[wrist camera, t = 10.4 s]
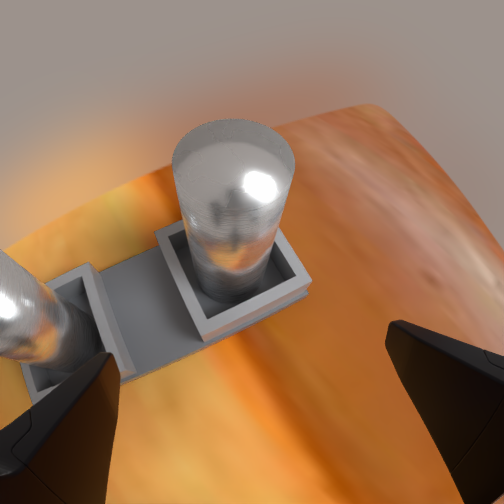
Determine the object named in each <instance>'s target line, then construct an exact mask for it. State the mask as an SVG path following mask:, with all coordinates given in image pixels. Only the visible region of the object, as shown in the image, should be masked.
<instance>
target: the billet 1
mask: <svg viewBox="0 0 504 504" xmlns="http://www.w3.org/2000/svg"><path fill="white" fill-rule="evenodd" d="M100 348H101V336H100V333H99V330H98V327H97V324H96V322H95V320H94V319H93V318H92V317H91V316H90V315H89V314H87V313H86V312H84V311H83V310H81V309H80V308H78V307H77V306H75V305H74V304H72V303H71V302H69V301H68V300H66V299H65V298H63V297H62V296H61V295H59V294H58V293H56V292H55V291H53V290H52V289H51V288H49V287H48V286H47V285H45V284H44V283H42V282H41V281H40V280H38V279H37V278H36V277H34V276H33V275H32V274H30V273H29V272H28V271H27V270H25V269H24V268H23V267H22V266H20V265H19V264H18V263H17V262H15V261H14V260H13V259H12V258H10V257H9V256H8V255H7V254H6V253H4V252H3V251H2V250H1V249H0V357H4V358H7V359H11V360H14V361H18V362H22V363H26V364H30V365H34V366H38V367H43V368H47V369H52V370H56V371H61V372H66V373H72V374H73V373H74V372H76V371H77V370H78V369H79V368H81V367H82V366H83V365H85V364H86V363H87V362H88V361H90V360H91V359H92V358H93V357H95V356H96V355H97V354H99V353H100Z"/></svg>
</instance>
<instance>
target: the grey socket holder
mask: <svg viewBox="0 0 504 504" xmlns="http://www.w3.org/2000/svg"><path fill="white" fill-rule="evenodd" d="M154 233H155V236H156V238H157V241H158V243H159V245H158V246H156V247H154V248H152V249H149V250H147V251H145V252H143V253H140V254H138V255H136V256H134V257H132V258H129V259H127V260H125V261H123V262H121V263H118V264H116V265H114V266H112V267H110V268H108V269H106V270H103V271H101V272H98V271H97V270H96V269H95V268H94V267H93V266H92V265H91V264H90V263H89V262H87V263H85V264H83V265H81V266H79V267H77V268H75V269H73V270H71V271H69V272H67V273H65V274H63V275H61V276H59V277H57V278H55V279H53V280H51V281H49V282H47V283H45V285H47V286H48V287H49V288H51V289H52V290H53V291H55V292H56V293H58V294H59V295H61V296H62V297H63V298H65V299H66V300H68V301H69V302H71V303H72V304H74V305H75V306H77V307H78V308H80V309H81V310H83V311H84V312H86V313H87V314H89V315H90V316H91V317H92V318H93V319H94V320H95V322H96V324H97V327H98V330H99V333H100V336H101V348H100V352H111V353H112V354H113V355H114V357H115V360H116V363H117V366H118V368H119V371H120V376H121V381H120V386H121V385H123V384H126V383H128V382H131V381H133V380H135V379H138V378H140V377H142V376H145V375H147V374H149V373H152V372H154V371H156V370H159V369H161V368H163V367H166V366H168V365H170V364H172V363H175V362H177V361H179V360H181V359H183V358H186V357H188V356H190V355H192V354H194V353H196V352H199V351H201V350H203V349H205V348H207V347H209V346H211V345H213V344H216V343H218V342H220V341H222V340H224V339H226V338H228V337H230V336H232V335H234V334H236V333H238V332H240V331H242V330H244V329H246V328H248V327H250V326H252V325H254V324H256V323H258V322H260V321H262V320H264V319H266V318H268V317H270V316H272V315H274V314H276V313H277V312H279V311H281V310H283V309H285V308H287V307H289V306H291V305H293V304H294V303H296V302H298V301H300V300H302V299H304V298H306V296H307V295H308V294H309V293H308V291H307V290H306V289H307V287H308V286H309V285H310V283H311V282H312V279H311V278H310V276H309V274H308V273H307V271H306V270H305V268H304V266H303V265H302V263H301V262H300V260H299V259H298V257H297V255H296V254H295V252H294V251H293V249H292V247H291V246H290V244H289V243H288V241H287V240H286V238H285V237H284V235H283V233H282V232H281V230H280V229H279V227H278V229H277V233H276V236H275V240H274V243H273V246H272V250H271V253H270V256H269V260H268V263H267V266H266V270H265V273H264V276H263V280H262V283H261V285H260V287H259V289H258V290H257V291H256V292H255V293H254V294H253V295H252V296H251V297H250V298H248V299H246V300H244V301H242V302H238V303H221V302H218V301H215V300H213V299H212V298H210V297H209V296H207V295H206V294H205V293H204V292H203V290H202V289H201V288H200V286H199V284H198V281H197V277H196V273H195V269H194V265H193V261H192V257H191V253H190V248H189V244H188V240H187V235H186V231H185V227H184V222H183V220H180V221H178V222H176V223H173V224H171V225H169V226H166V227H164V228H162V229H159V230H157V231H155V232H154ZM20 365H21V369H22V372H23V376H24V379H25V382H26V386H27V389H28V392H29V395H30V398H31V401H32V404H33V405H34V404H36V403H37V402H38V401H39V400H41V399H42V398H43V397H44V396H46V395H47V394H48V393H49V392H51V391H52V390H53V389H54V388H56V387H57V386H58V385H59V384H61V383H62V382H63V381H64V380H66V379H67V378H68V377H69V376H71V375H72V373H66V372H61V371H56V370H52V369H47V368H43V367H38V366H34V365H30V364H26V363H22V362H20Z"/></svg>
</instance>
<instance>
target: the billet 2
mask: <svg viewBox="0 0 504 504" xmlns="http://www.w3.org/2000/svg"><path fill="white" fill-rule="evenodd" d="M172 169H173V174H174V179H175V184H176V189H177V194H178V199H179V204H180V208H181V213H182V218H183V222H184V227H185V231H186V235H187V240H188V244H189V248H190V253H191V257H192V261H193V265H194V269H195V273H196V277H197V281H198V284H199V286H200V288H201V289H202V290H203V292H204V293H205V294H206V295H207V296H209V297H210V298H212V299H213V300H215V301H218V302H221V303H238V302H242V301H244V300H246V299H248V298H250V297H251V296H252V295H253V294H254V293H255V292H256V291H257V290H258V289H259V287H260V285H261V283H262V280H263V276H264V273H265V270H266V266H267V263H268V260H269V256H270V253H271V250H272V246H273V243H274V240H275V236H276V233H277V229H278V226H279V223H280V219H281V216H282V212H283V209H284V205H285V202H286V199H287V195H288V192H289V188H290V185H291V181H292V178H293V174H294V170H295V159H294V155H293V152H292V150H291V148H290V146H289V144H288V143H287V142H286V140H285V139H284V138H283V137H282V136H281V135H279V134H278V133H277V132H275V131H274V130H272V129H271V128H269V127H267V126H265V125H262V124H260V123H257V122H253V121H249V120H244V119H222V120H216V121H212V122H208V123H205V124H203V125H200V126H198V127H197V128H195V129H193V130H191V131H190V132H189V133H187V134H186V135H185V136H184V137H183V138H182V139H181V141H180V142H179V143H178V145H177V146H176V148H175V150H174V153H173V157H172Z"/></svg>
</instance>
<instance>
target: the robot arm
mask: <svg viewBox="0 0 504 504" xmlns="http://www.w3.org/2000/svg"><path fill="white" fill-rule="evenodd" d="M385 346H386V349H387V351H388V354H389V356H390V358H391V360H392V363H393V365H394V367H395V369H396V372H397V374H398V376H399V378H400V380H401V382H402V384H403V386H404V388H405V390H406V391H407V393H408V395H409V397H410V398H411V400H412V402H413V404H414V405H415V407H416V409H417V411H418V413H419V414H420V416H421V418H422V420H423V422H424V424H425V425H426V427H427V429H428V431H429V433H430V435H431V437H432V439H433V441H434V442H435V444H436V446H437V448H438V450H439V452H440V454H441V456H442V458H443V460H444V462H445V464H446V466H447V468H448V470H449V472H450V473H451V476H452V478H453V480H454V483H455V485H456V487H457V489H458V491H459V493H460V495H461V497H462V500H463V502H464V504H493V503H495V502H496V501H497V500H498V499H500V498H501V497H502V496H503V495H504V356H501V355H498V354H495V353H492V352H490V351H487V350H483V349H481V348H478V347H475V346H473V345H470V344H467V343H464V342H461V341H459V340H456V339H453V338H450V337H448V336H445V335H442V334H439V333H437V332H434V331H431V330H428V329H426V328H423V327H420V326H417V325H415V324H412V323H409V322H406V321H404V320H396V321H392V322H390V324H389V326H388V331H387V336H386V340H385ZM120 381H121V376H120V371H119V368H118V366H117V363H116V360H115V357H114V355H113V354H112V353H111V352H100V353H99V354H97V355H96V356H95V357H93V358H92V359H91V360H90V361H88V362H87V363H86V364H85V365H83V366H82V367H81V368H79V369H78V370H77V371H76V372H74V373H73V374H72V375H71V376H69V377H68V378H67V379H66V380H64V381H63V382H62V383H61V384H59V385H58V386H57V387H56V388H54V389H53V390H52V391H51V392H49V393H48V394H47V395H46V396H44V397H43V398H42V399H41V400H39V401H38V402H37V403H36V404H34V405H33V406H32V407H31V408H30V409H28V410H27V411H26V412H24V413H23V414H22V415H21V416H19V417H18V418H17V419H15V420H14V421H13V422H12V423H10V424H9V425H7V426H6V427H4V428H3V429H2V430H0V504H105V500H106V491H107V483H108V475H109V468H110V461H111V454H112V448H113V442H114V436H115V430H116V425H117V418H118V405H119V392H120Z"/></svg>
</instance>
